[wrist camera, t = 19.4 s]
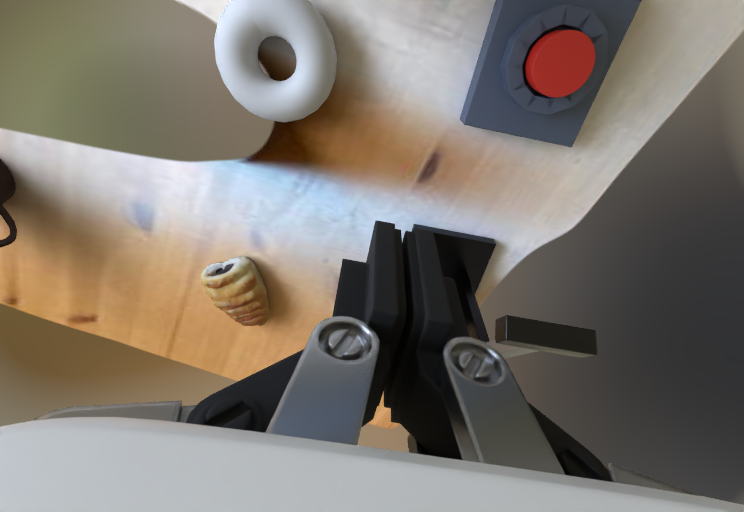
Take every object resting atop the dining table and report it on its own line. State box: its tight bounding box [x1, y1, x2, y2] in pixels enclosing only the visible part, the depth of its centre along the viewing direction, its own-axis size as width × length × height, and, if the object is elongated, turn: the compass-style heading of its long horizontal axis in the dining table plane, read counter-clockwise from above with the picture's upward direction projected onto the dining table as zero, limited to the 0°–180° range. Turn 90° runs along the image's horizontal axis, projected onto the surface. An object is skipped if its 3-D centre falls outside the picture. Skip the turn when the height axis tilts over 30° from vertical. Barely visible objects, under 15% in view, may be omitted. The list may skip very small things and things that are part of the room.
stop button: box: [525, 30, 595, 97], centre depth 28 cm, size 4×4×2 cm
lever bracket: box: [412, 224, 496, 342], centre depth 38 cm, size 12×9×15 cm
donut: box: [214, 0, 337, 122], centre depth 31 cm, size 10×4×10 cm
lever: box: [486, 315, 597, 358], centre depth 27 cm, size 16×5×2 cm
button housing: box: [460, 0, 641, 147], centre depth 30 cm, size 12×10×4 cm
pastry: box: [200, 257, 270, 326], centre depth 44 cm, size 9×7×4 cm
